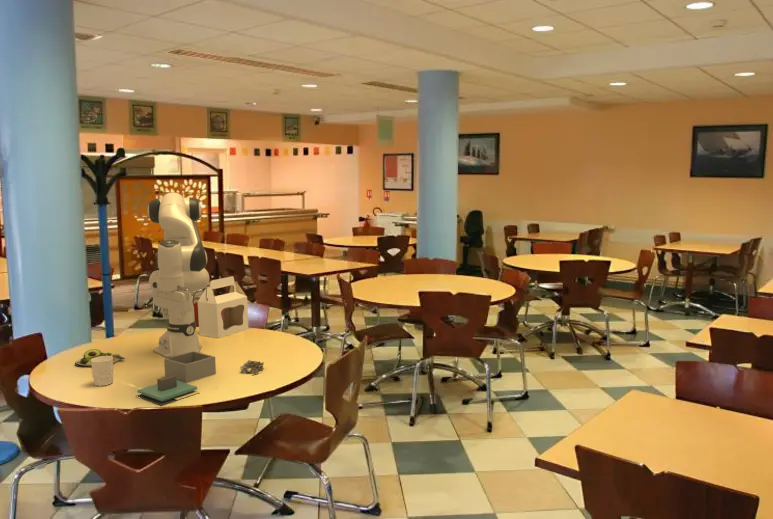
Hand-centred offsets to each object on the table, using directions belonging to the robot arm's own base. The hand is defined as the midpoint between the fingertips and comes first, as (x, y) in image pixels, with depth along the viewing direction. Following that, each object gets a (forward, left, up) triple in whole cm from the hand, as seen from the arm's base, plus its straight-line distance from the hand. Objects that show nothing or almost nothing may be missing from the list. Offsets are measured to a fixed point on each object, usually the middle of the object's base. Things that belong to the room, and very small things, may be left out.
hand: (173, 320), depth 241 cm
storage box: (-8, +12, -27) cm, 30 cm away
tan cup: (-29, -13, -27) cm, 42 cm away
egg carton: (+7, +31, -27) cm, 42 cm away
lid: (+3, -6, -26) cm, 27 cm away
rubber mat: (+3, -6, -27) cm, 27 cm away
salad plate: (-59, +1, -27) cm, 65 cm away
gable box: (-56, +67, -27) cm, 91 cm away
